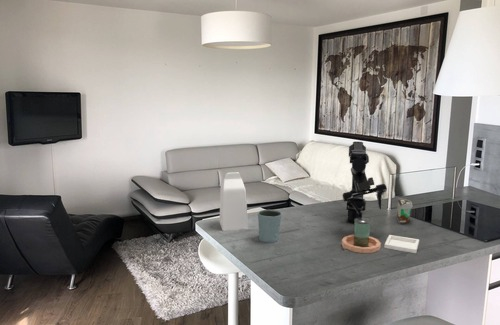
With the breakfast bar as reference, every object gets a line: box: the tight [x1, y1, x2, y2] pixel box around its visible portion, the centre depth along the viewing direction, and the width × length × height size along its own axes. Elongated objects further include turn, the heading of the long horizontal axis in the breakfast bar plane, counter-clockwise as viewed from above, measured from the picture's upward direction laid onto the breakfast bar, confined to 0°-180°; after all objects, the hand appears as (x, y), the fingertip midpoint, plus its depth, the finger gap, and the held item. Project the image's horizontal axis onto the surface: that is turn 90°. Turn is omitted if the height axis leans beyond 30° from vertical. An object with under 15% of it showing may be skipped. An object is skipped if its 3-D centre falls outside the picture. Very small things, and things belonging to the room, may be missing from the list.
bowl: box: [341, 234, 382, 254], centre depth 165 cm, size 15×15×3 cm
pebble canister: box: [353, 217, 371, 247], centre depth 164 cm, size 6×6×11 cm
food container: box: [396, 197, 414, 225], centre depth 197 cm, size 12×6×10 cm, turn 168°
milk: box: [219, 171, 249, 232], centre depth 189 cm, size 12×12×26 cm
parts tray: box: [384, 234, 420, 254], centre depth 165 cm, size 12×12×2 cm
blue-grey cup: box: [257, 209, 282, 244], centre depth 173 cm, size 10×10×12 cm
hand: (369, 211), depth 172 cm, fingers open, 9 cm apart
